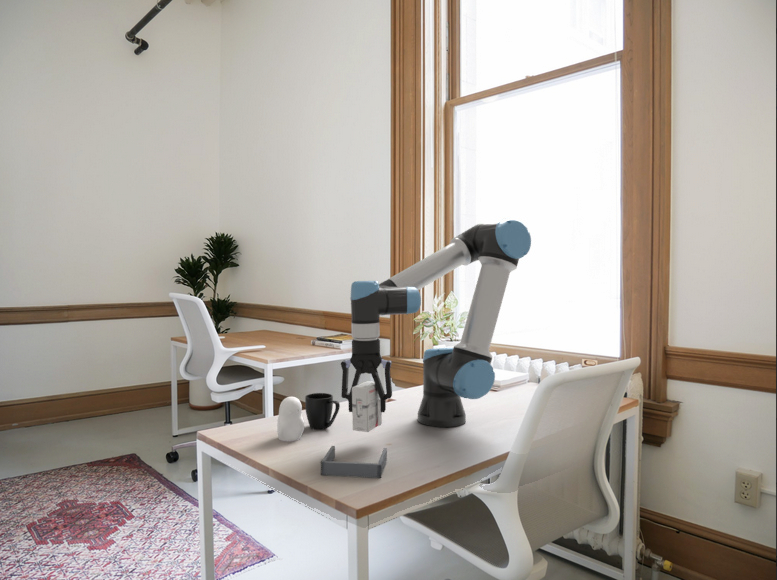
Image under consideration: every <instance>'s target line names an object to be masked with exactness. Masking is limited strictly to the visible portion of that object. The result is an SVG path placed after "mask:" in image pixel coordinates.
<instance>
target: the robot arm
mask: <svg viewBox="0 0 777 580" xmlns="http://www.w3.org/2000/svg"><path fill="white" fill-rule="evenodd" d="M449 242H450V243H449V244H448V245H446V246H444V247H442V248H441V249H439V250H437V251H435V252H434V253H431V254H430V255H427V257H425V258H423V259H421V260H419V261H417V262H415V263H414V264H413V265H411V266H409V267H406V268H405V269H403V270H402V271H400V272H398V273H396V274H395V275H393V276H391V277H389V278H388V279H386V280H384V281H381V282H380V283H379V281H378V280H357V281H353V282H352V283H351V287H350V298H349V299H350V312H351V338H352V340H351V357H350V359H345V360H342V361H341V362H340V365H341V369H342V377H341V378H342V379H341V394H340V395H341V396H340V397H341V398H342V399H345V400H348V412H349V413H352V387H354V386H357V385H359V382H360V379H361V376H362V374H363V375H364V374H370V375H371V377H372V379H373V381H374V382H375V385H376V388H377V391H378V394H379V397H380V399H378V401H377V402H378V426H377V427H379V426H382V424H383V413H385V412H386V408H387V406H386V405H387V404H386V403H387V402H386V400H388V399H389V400H390V399H392V397H393V388H392V379H391V378H392V375H391V367H392V363H393V361H392V360H386V359H383V357H382V356H381V340H380V339H379V337H380V336H381V334H380V333H381V332H380V330H381V327H380V321H381V320H380V316H390V315H391V316H392V315H395V316H396V315H408V314H409V315H410V314H416V313H417V312H418V311H419V310H420V309H421V305H422V304H421V303H422V302H421V301H422V298H421V297H422V296H421V293H420V291H419V290H421V289H423V288H425V287H427V286H428V285H430V284H431V283H433V282H435V281H436V280H439V279H440V278H441V277H443V276H445V275H447V274H449V273H450V272H452V271H454V270H455V269H457V268H459V267H460V266H468V265H470V264H472V263H474V262H477V261H479V263H480V265H481V266H480V271H479V274H478V277H477V280H476V281H477V282H476V285H475V287H474V288H475V289H474V293H473V295H472V300H471V303H470V306H469V310H468V314H467V318H466V321H465V325H464V328H463V330H462V331H463V332H462V335H461V339H460V342H459V343H457V344H454V345H453V347H442V348H441V347H439V348H437V347H436V348H427V349H426V350H425V351H424V352H423V358H422V362H423V363H422V364H423V372H422V373H423V378H422V379H423V381H422V382H423V383H422V385H423V386H422V390H423V393H422V395H423V396H422V399H421V401H420V405H419V407H418V411H417V422H419V423H420V424H421V425H425V426H430V427H437V428H452V427H458V426H462V425H464V424H465V423H466V421H467V420H466V415H467V414H466V411H465V409H464V404H463V401H462V398H463V399H468V400H469V399H470V400H478V399H481V398H483V397H484V396H486V395H488V393H489V392H490V391H491V390H492V388H493V386H494V383H495V379H496V372H495V371H494V368H493V366H492V360H493V355H492V353H491V352H490V347H491V344H492V340H493V336H494V333H495V329H496V326H497V322H498V317H499V313H500V310H501V307H502V303H503V299H504V296H505V292H506V289H507V285H508V281H509V277H510V273H512V272H513V271H515V270H516V269H517V267H518V264H519V261H520V259H522V258H523V257H525V256H526V255H528V253H529V252H530V249H531V246H532V237H531V233H530V231H529V229H528V227H527V226H526V225H525V223H523V222H522V221H521V220H518V219H516V218H503V219H500V220H490V221H482V222H480V223H477V224H475V225H474V226H472V227H470V228H468V229H467V230H465V231H464V232H461V233H460V234H458V235H456V237H453V238H452V239H451V240H450V241H449ZM351 365H352V366H353V368H354V369H355V372H354V376H353V381H352V384H351V387H350V390H349V370H350V369H349V368H350V367H351ZM380 365H382V368H383V369H384V379H385V390H384V387H383V385H382V381H381V379H380V376H379V372H378V368H379V367H380ZM348 390H349V391H348ZM348 392H349V393H348ZM385 392H386V393H385Z"/></svg>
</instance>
